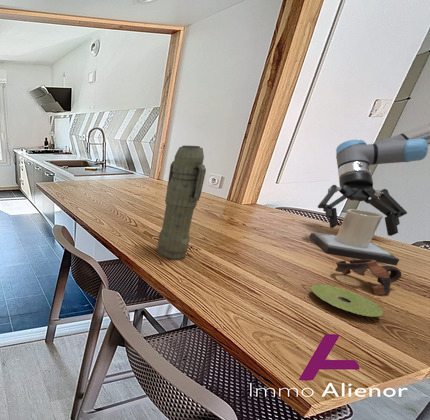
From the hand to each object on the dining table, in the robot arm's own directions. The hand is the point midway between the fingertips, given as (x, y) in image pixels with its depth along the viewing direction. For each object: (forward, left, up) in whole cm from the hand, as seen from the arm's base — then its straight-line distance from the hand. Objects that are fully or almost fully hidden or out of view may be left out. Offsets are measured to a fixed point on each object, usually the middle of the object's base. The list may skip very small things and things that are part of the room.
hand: (362, 230), depth 80 cm
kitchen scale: (0, -2, -8) cm, 9 cm away
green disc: (+17, +39, -9) cm, 43 cm away
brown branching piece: (+7, +24, -9) cm, 27 cm away
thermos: (+55, +31, -9) cm, 64 cm away
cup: (0, -2, -6) cm, 6 cm away
